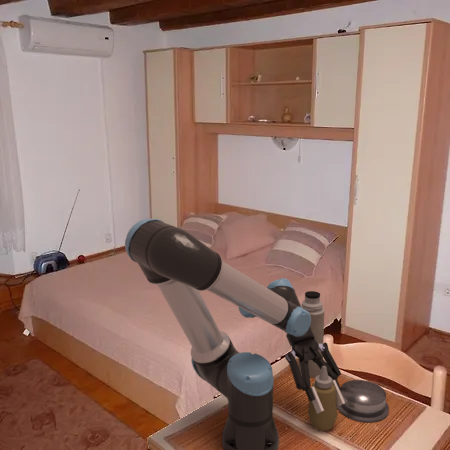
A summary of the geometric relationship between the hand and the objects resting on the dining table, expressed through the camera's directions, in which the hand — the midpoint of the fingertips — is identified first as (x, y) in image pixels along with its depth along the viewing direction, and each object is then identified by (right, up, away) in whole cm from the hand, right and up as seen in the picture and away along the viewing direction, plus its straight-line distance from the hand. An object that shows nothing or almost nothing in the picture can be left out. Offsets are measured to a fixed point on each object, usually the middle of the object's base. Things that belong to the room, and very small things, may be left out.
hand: (331, 408), depth 133 cm
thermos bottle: (0, 0, +33) cm, 33 cm away
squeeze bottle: (-1, -7, +5) cm, 8 cm away
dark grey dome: (+12, -4, +13) cm, 18 cm away
